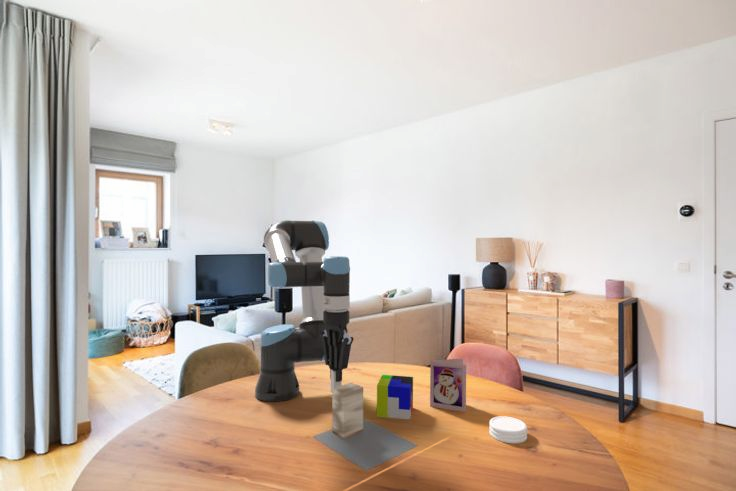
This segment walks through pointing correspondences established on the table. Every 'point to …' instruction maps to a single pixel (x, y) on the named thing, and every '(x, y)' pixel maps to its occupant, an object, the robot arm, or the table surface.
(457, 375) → the greeting card
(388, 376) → the puzzle toy
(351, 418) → the birch block
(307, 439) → the table surface
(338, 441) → the slate mat
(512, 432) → the white round disc stack
